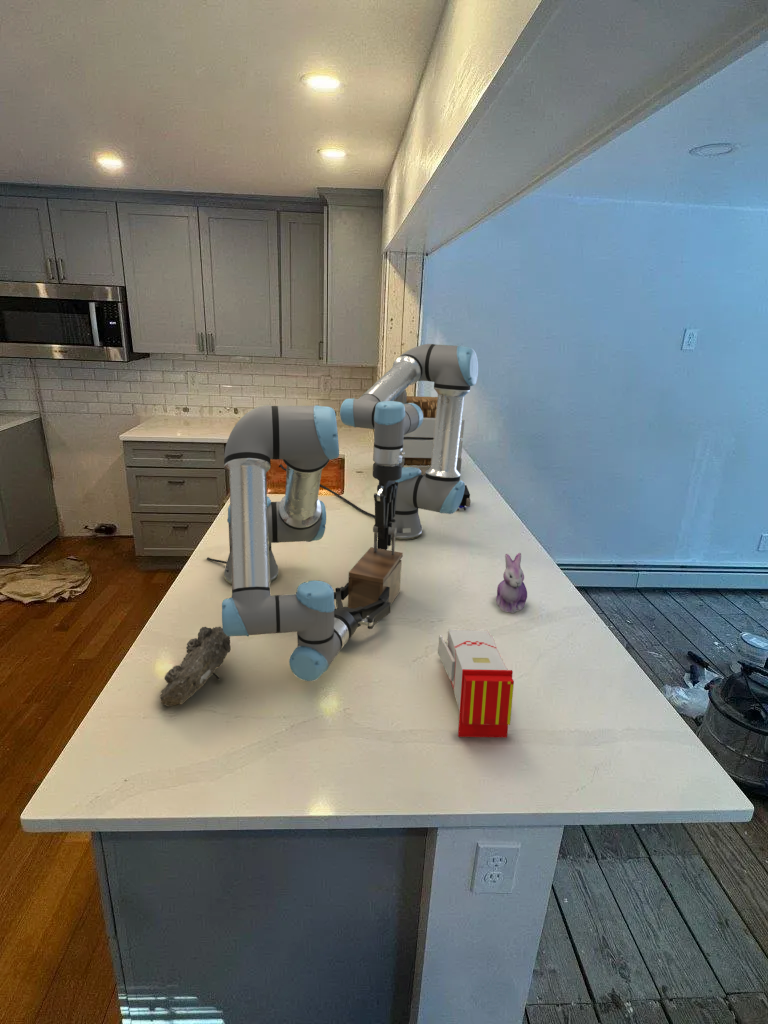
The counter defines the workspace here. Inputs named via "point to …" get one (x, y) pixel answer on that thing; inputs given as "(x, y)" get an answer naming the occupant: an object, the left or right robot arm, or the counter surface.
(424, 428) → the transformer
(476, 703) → the toy
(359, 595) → the chest
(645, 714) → the counter surface
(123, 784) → the counter surface
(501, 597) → the figurine
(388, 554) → the lid
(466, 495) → the figurine character
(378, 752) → the counter surface
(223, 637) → the fossil
